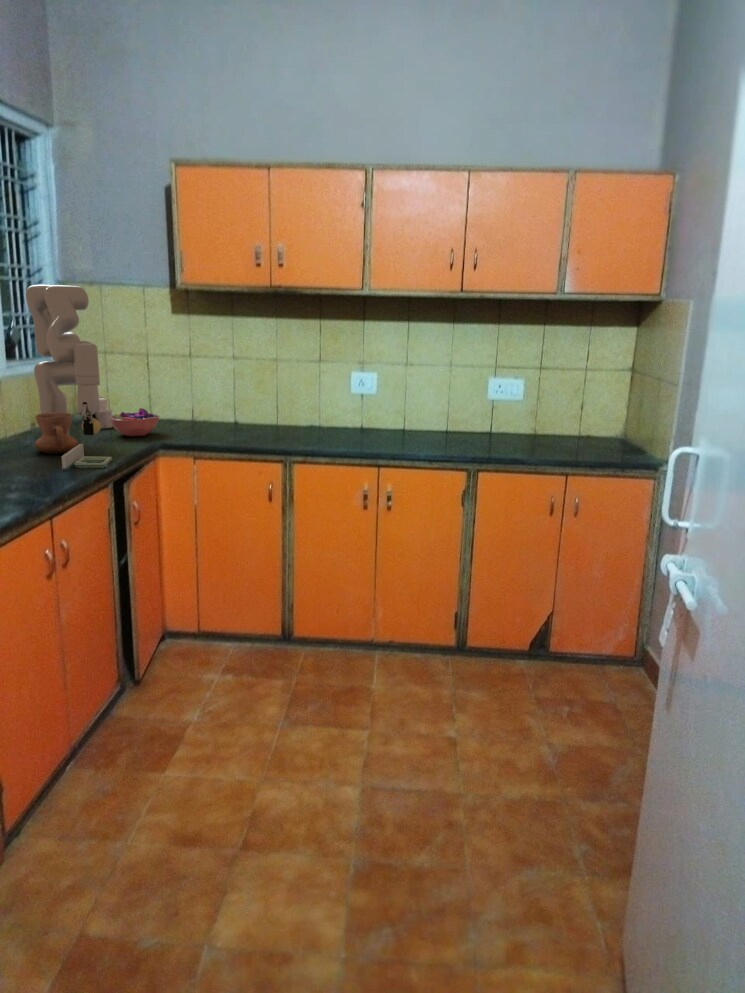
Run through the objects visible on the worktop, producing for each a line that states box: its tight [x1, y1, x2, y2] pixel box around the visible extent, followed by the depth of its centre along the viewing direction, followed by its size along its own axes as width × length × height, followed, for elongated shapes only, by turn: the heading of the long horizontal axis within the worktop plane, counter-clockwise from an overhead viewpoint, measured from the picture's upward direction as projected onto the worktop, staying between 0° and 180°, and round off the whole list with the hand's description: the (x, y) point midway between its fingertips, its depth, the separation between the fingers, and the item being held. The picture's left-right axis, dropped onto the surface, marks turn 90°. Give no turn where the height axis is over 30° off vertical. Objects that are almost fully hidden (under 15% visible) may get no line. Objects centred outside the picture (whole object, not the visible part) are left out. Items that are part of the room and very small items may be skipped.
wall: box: [61, 443, 85, 469], centre depth 239 cm, size 20×1×5 cm, turn 6°
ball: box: [81, 418, 101, 435], centre depth 235 cm, size 6×6×6 cm
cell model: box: [110, 407, 161, 437], centre depth 288 cm, size 17×20×11 cm
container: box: [87, 396, 113, 430], centre depth 302 cm, size 8×8×13 cm
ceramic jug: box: [34, 412, 78, 455], centre depth 253 cm, size 18×14×14 cm
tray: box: [73, 455, 113, 466], centre depth 239 cm, size 10×10×2 cm
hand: (91, 432), depth 236 cm, fingers closed on ball, 5 cm apart
